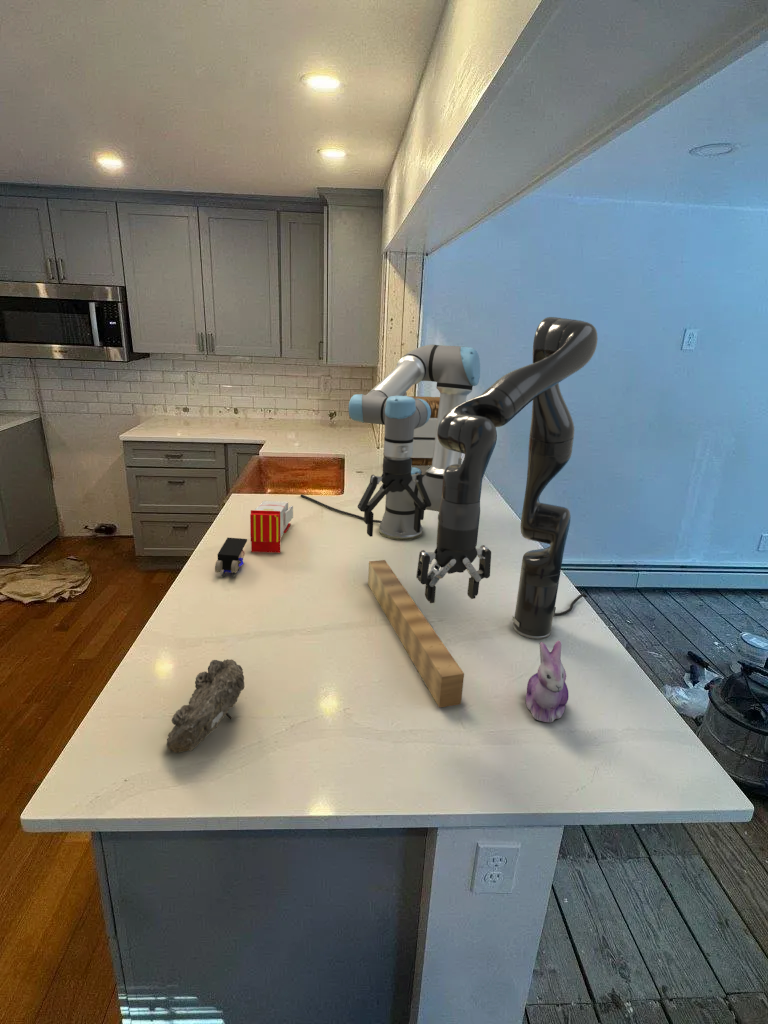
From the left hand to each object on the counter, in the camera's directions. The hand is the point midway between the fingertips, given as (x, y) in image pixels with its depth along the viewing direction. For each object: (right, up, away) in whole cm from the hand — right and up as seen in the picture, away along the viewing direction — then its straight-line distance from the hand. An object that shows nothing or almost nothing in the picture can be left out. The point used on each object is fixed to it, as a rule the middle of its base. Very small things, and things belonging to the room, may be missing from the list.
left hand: (393, 532), depth 154 cm
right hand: (+11, -11, -44) cm, 47 cm away
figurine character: (-47, -11, +13) cm, 50 cm away
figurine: (+30, -34, -40) cm, 61 cm away
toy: (-41, -3, +38) cm, 56 cm away
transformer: (+15, +25, +121) cm, 124 cm away
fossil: (-35, -33, -46) cm, 67 cm away
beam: (+3, -24, -16) cm, 29 cm away
